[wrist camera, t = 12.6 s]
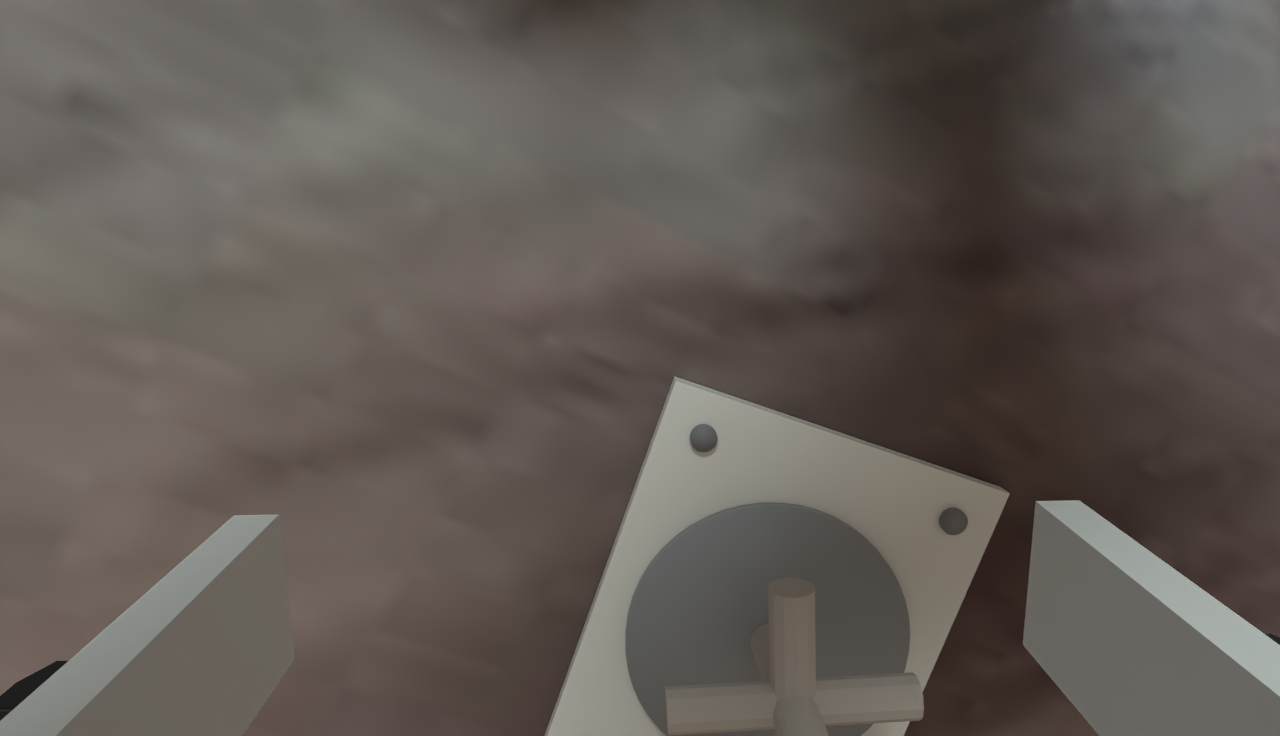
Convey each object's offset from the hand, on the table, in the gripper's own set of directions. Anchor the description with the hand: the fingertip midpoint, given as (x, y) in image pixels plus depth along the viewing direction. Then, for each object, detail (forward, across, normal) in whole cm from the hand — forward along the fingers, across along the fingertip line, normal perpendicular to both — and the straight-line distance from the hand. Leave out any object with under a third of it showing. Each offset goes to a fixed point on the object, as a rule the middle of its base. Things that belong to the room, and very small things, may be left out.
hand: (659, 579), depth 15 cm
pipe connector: (+22, +6, -14) cm, 27 cm away
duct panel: (+24, +6, -14) cm, 28 cm away
